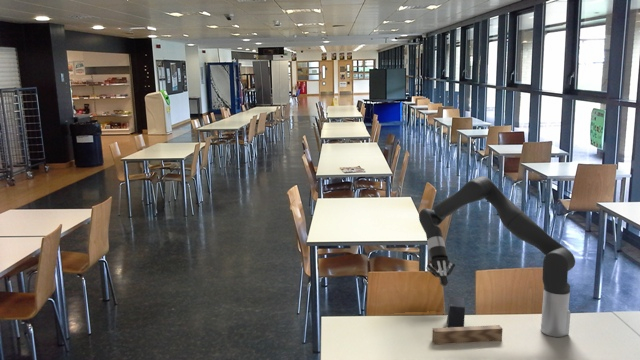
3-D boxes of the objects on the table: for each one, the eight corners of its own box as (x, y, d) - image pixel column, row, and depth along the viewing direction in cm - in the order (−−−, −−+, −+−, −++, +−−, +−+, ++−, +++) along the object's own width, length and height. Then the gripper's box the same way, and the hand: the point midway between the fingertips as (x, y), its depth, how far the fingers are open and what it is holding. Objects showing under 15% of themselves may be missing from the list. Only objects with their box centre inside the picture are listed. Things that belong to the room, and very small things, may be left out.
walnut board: (498, 337, 210) (499, 325, 209) (501, 340, 207) (502, 328, 206) (432, 340, 207) (432, 328, 206) (434, 344, 204) (434, 331, 203)
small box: (464, 332, 214) (465, 307, 212) (447, 330, 215) (448, 305, 213) (463, 320, 224) (464, 296, 222) (446, 319, 225) (447, 295, 223)
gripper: (424, 245, 239) (431, 282, 229) (453, 244, 240) (462, 281, 231) (420, 253, 245) (427, 289, 236) (449, 252, 247) (457, 288, 237)
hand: (444, 285), depth 233 cm, fingers closed
